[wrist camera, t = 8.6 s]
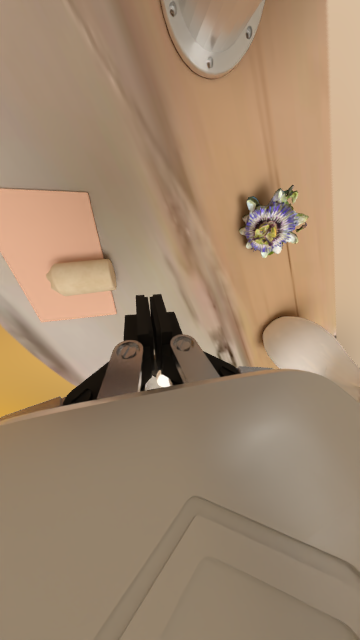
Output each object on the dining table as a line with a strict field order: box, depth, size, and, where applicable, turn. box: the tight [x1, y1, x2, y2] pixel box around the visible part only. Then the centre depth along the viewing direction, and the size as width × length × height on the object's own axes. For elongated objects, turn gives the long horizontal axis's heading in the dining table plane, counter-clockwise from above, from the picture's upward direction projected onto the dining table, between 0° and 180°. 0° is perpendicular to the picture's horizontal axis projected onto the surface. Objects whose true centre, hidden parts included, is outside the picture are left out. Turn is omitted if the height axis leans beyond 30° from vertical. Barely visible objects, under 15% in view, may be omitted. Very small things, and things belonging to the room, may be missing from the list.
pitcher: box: [263, 316, 360, 403], centre depth 47 cm, size 24×17×28 cm
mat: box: [0, 188, 117, 322], centre depth 29 cm, size 22×15×1 cm
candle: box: [46, 259, 116, 296], centre depth 28 cm, size 6×6×10 cm
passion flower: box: [239, 185, 308, 258], centre depth 31 cm, size 11×11×12 cm
